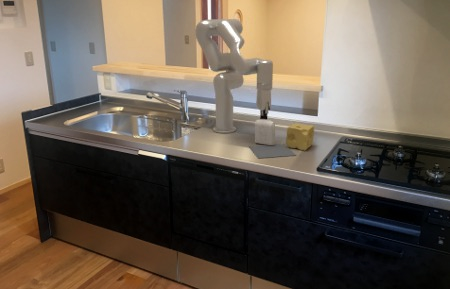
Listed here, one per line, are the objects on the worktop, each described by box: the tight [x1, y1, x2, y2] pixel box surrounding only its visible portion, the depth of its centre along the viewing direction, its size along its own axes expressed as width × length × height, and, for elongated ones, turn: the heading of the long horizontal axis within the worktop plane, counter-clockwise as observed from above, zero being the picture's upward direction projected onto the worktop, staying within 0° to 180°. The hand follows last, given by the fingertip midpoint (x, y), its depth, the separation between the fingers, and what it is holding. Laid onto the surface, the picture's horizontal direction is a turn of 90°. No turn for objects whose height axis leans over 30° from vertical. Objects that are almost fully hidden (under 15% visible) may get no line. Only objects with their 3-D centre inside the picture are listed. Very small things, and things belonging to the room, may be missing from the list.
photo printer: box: [254, 118, 276, 145], centre depth 196 cm, size 10×4×12 cm, turn 56°
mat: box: [248, 143, 297, 160], centre depth 189 cm, size 16×18×1 cm
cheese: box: [285, 122, 315, 151], centre depth 194 cm, size 10×11×10 cm
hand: (263, 122), depth 199 cm, fingers closed
